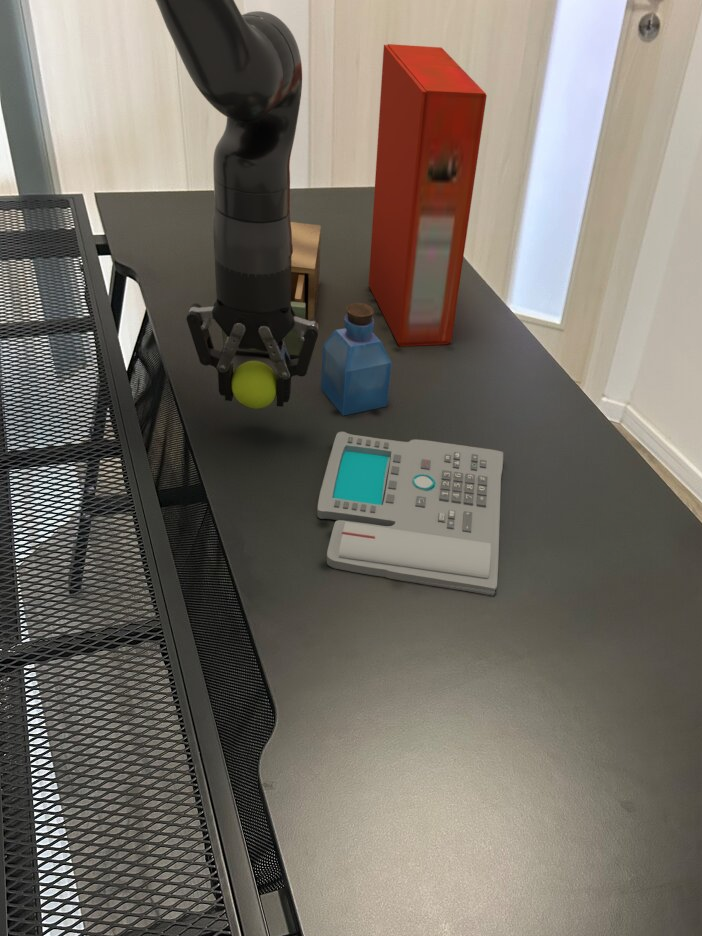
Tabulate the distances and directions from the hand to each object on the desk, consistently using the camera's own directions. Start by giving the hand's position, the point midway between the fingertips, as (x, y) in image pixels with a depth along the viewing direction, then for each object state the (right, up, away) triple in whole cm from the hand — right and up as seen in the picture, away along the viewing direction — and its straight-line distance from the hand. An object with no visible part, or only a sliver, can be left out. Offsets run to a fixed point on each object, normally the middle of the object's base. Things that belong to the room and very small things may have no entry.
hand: (255, 399), depth 97 cm
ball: (0, -1, 0) cm, 1 cm away
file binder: (+16, +19, +28) cm, 38 cm away
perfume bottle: (+10, +3, +11) cm, 15 cm away
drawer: (-2, +12, +17) cm, 21 cm away
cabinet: (-3, +20, +26) cm, 33 cm away
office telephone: (+18, -13, -2) cm, 22 cm away
